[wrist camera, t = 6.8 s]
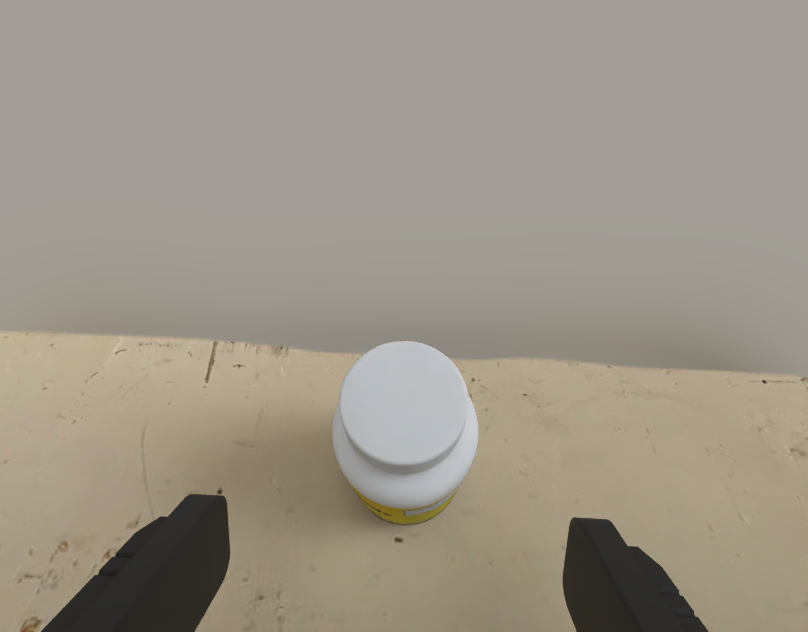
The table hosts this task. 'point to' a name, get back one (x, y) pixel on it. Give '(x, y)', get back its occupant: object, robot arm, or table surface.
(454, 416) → the supplement bottle
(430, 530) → the table surface
